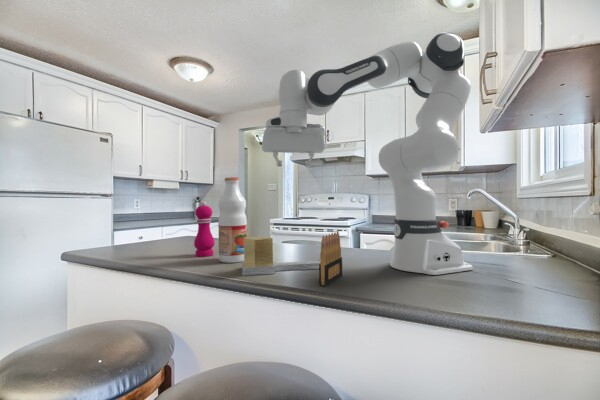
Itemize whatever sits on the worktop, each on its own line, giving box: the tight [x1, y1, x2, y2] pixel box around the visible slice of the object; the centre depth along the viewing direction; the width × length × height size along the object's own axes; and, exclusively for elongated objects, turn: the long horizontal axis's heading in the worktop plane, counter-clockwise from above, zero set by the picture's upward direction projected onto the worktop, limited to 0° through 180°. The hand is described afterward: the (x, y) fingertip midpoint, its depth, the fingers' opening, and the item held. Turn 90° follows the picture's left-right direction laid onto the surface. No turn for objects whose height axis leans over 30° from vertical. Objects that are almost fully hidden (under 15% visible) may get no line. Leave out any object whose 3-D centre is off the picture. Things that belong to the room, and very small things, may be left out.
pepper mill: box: [193, 200, 215, 258], centre depth 109 cm, size 7×7×20 cm
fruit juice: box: [217, 176, 248, 264], centre depth 100 cm, size 9×9×28 cm
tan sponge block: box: [244, 235, 274, 267], centre depth 86 cm, size 6×6×8 cm
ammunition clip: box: [318, 231, 343, 287], centre depth 75 cm, size 11×2×12 cm, turn 150°
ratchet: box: [241, 260, 320, 276], centre depth 88 cm, size 27×9×6 cm, turn 100°
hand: (293, 166), depth 95 cm, fingers open, 8 cm apart
